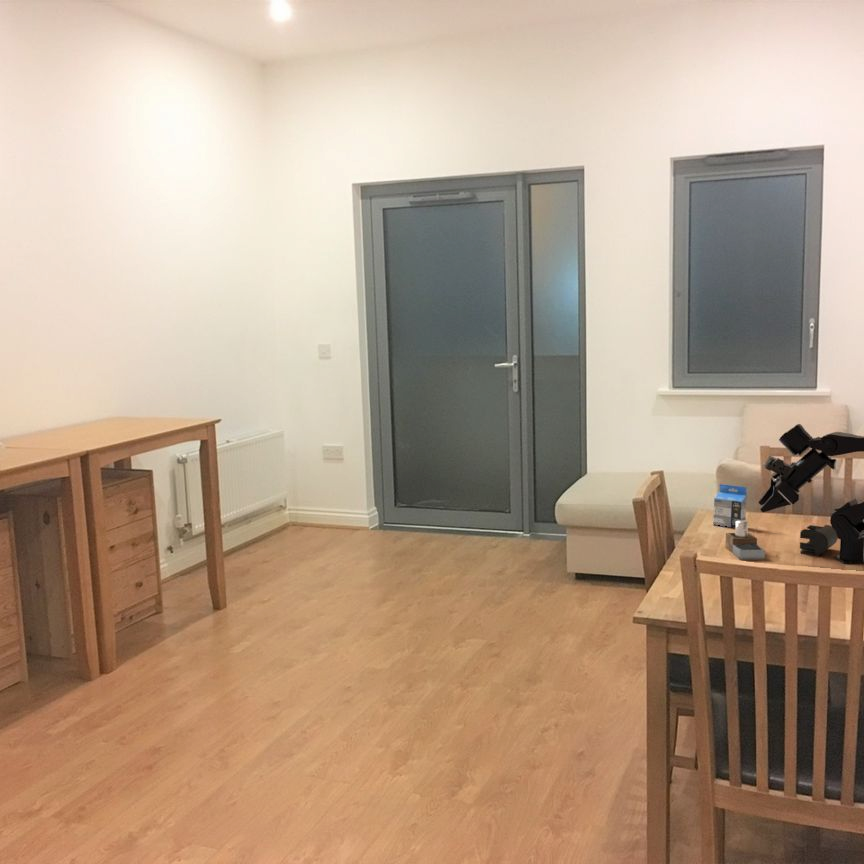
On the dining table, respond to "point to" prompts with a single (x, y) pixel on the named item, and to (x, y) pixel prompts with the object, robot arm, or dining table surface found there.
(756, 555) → the tray
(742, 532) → the axle pin
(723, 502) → the label tape box
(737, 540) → the bore block
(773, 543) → the dining table surface
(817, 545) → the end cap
